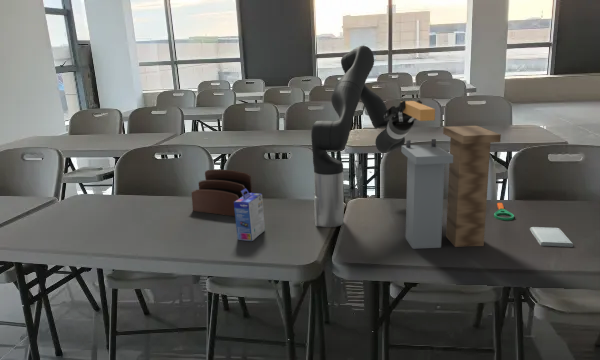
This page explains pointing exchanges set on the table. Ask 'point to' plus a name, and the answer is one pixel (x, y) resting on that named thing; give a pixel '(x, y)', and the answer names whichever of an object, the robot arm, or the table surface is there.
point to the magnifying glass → (502, 213)
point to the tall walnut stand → (468, 183)
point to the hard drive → (550, 237)
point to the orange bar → (419, 111)
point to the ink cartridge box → (249, 216)
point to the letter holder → (220, 191)
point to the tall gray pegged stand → (425, 193)
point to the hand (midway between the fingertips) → (412, 103)
